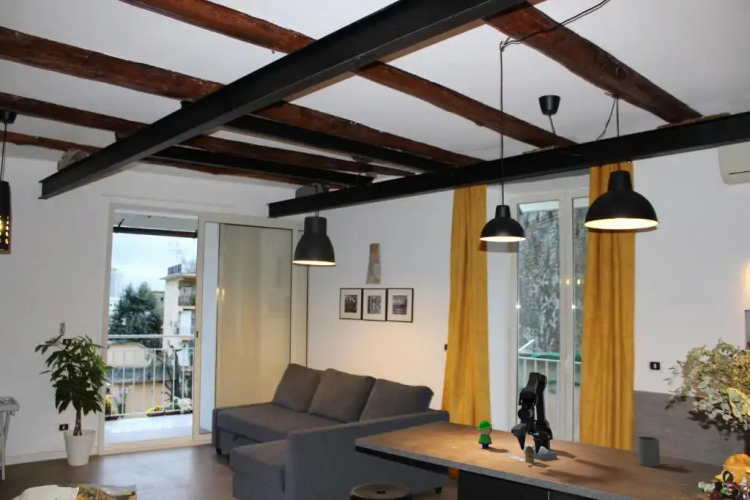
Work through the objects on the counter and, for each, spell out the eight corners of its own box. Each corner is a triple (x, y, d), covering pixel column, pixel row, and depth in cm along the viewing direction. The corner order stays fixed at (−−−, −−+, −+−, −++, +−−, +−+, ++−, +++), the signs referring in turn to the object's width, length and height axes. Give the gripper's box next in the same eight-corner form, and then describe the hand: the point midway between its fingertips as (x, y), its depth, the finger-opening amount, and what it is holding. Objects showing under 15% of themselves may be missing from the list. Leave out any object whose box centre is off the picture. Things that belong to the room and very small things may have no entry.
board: (527, 452, 316) (527, 450, 316) (560, 461, 297) (560, 458, 297) (497, 457, 306) (497, 454, 306) (529, 466, 287) (529, 463, 287)
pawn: (530, 460, 294) (529, 445, 294) (535, 462, 290) (535, 446, 291) (523, 461, 292) (523, 445, 293) (529, 463, 288) (529, 447, 289)
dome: (541, 456, 304) (541, 444, 305) (550, 458, 299) (550, 446, 300) (532, 457, 301) (532, 445, 302) (541, 459, 296) (541, 448, 297)
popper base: (541, 454, 307) (541, 448, 308) (556, 458, 299) (556, 452, 299) (526, 457, 302) (526, 450, 302) (541, 461, 294) (541, 454, 294)
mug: (654, 468, 284) (652, 441, 286) (635, 464, 291) (633, 438, 293) (668, 463, 293) (667, 437, 294) (649, 460, 300) (648, 434, 301)
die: (527, 452, 313) (527, 443, 313) (534, 453, 310) (534, 445, 310) (523, 453, 310) (523, 445, 310) (530, 454, 307) (530, 446, 307)
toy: (493, 452, 317) (493, 422, 319) (476, 451, 319) (476, 421, 321) (494, 448, 326) (493, 419, 328) (477, 447, 328) (476, 418, 329)
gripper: (502, 416, 297) (502, 449, 295) (530, 421, 281) (531, 457, 279) (519, 414, 303) (520, 447, 301) (548, 419, 287) (549, 454, 285)
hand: (529, 451), depth 292 cm, fingers open, 9 cm apart
